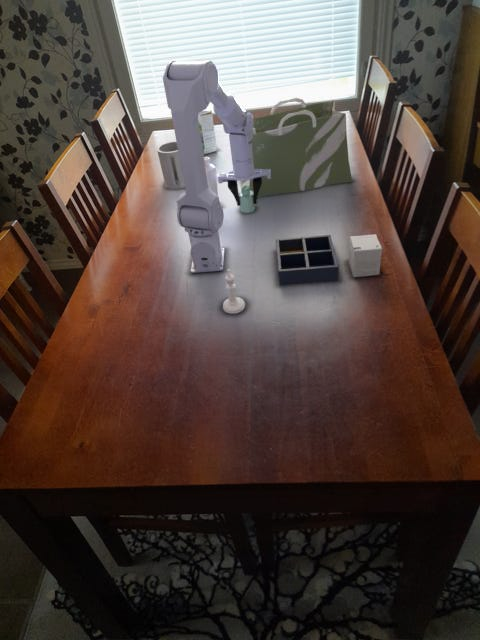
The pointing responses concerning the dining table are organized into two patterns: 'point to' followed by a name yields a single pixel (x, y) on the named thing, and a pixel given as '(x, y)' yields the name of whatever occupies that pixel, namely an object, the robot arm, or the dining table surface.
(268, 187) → the grocery bag
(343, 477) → the dining table surface
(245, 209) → the bottle
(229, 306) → the chess piece
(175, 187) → the cup
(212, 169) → the perfume bottle
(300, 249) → the divided tray
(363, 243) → the white cardboard box
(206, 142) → the syrup box
